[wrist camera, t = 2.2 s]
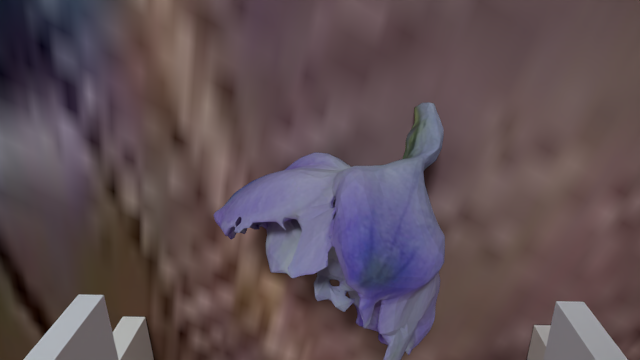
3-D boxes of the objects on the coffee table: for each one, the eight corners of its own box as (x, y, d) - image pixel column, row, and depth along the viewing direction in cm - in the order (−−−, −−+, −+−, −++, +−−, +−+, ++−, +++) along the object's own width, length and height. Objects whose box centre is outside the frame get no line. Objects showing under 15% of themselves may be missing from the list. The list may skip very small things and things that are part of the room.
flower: (379, 9, 12) (260, 392, 11) (562, 124, 16) (481, 402, 16) (244, 51, 20) (170, 279, 19) (392, 120, 24) (335, 306, 24)
